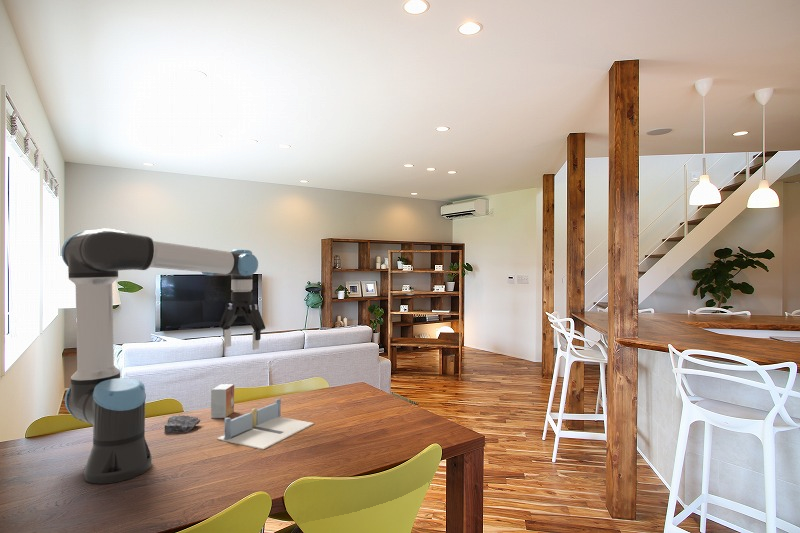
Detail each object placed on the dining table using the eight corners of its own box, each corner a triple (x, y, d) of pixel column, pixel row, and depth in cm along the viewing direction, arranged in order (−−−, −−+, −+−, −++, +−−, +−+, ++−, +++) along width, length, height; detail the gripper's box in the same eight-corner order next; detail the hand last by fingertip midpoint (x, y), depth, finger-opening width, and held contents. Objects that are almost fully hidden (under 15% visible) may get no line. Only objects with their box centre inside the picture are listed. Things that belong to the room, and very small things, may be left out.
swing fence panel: (254, 427, 149) (254, 409, 149) (250, 426, 149) (250, 408, 149) (281, 415, 161) (281, 399, 161) (277, 414, 162) (277, 398, 162)
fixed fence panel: (227, 441, 138) (227, 419, 138) (223, 440, 139) (223, 418, 139) (252, 430, 148) (252, 410, 148) (248, 429, 149) (248, 409, 149)
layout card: (263, 449, 132) (263, 448, 132) (216, 439, 140) (216, 437, 140) (313, 424, 154) (313, 422, 154) (271, 416, 162) (271, 415, 162)
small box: (225, 418, 160) (226, 389, 160) (210, 418, 160) (210, 389, 160) (234, 411, 168) (234, 384, 168) (219, 411, 168) (220, 383, 168)
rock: (193, 433, 146) (194, 420, 146) (161, 434, 144) (161, 421, 144) (201, 425, 153) (201, 413, 153) (170, 426, 152) (170, 414, 152)
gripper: (275, 291, 164) (274, 348, 163) (224, 290, 174) (223, 344, 173) (261, 292, 157) (261, 351, 157) (209, 290, 167) (208, 347, 166)
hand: (241, 347), depth 165 cm, fingers open, 13 cm apart
